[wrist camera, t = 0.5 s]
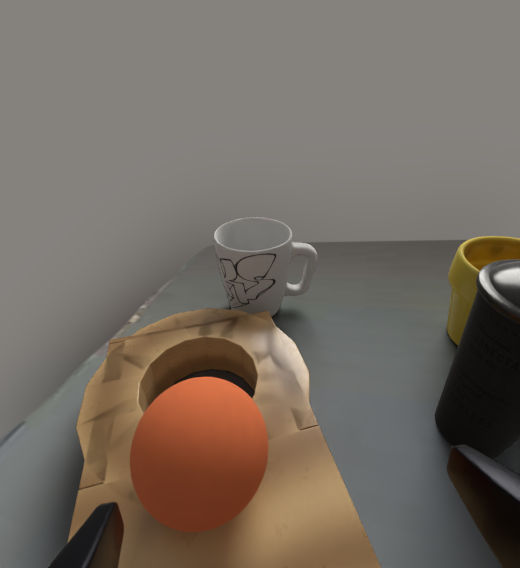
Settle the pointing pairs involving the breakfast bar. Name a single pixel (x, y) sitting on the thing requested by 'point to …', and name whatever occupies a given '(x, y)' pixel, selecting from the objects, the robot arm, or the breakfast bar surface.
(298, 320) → the breakfast bar surface
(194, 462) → the ball
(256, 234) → the mug
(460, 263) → the flower pot
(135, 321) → the breakfast bar surface
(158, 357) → the board
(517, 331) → the drinking cup
